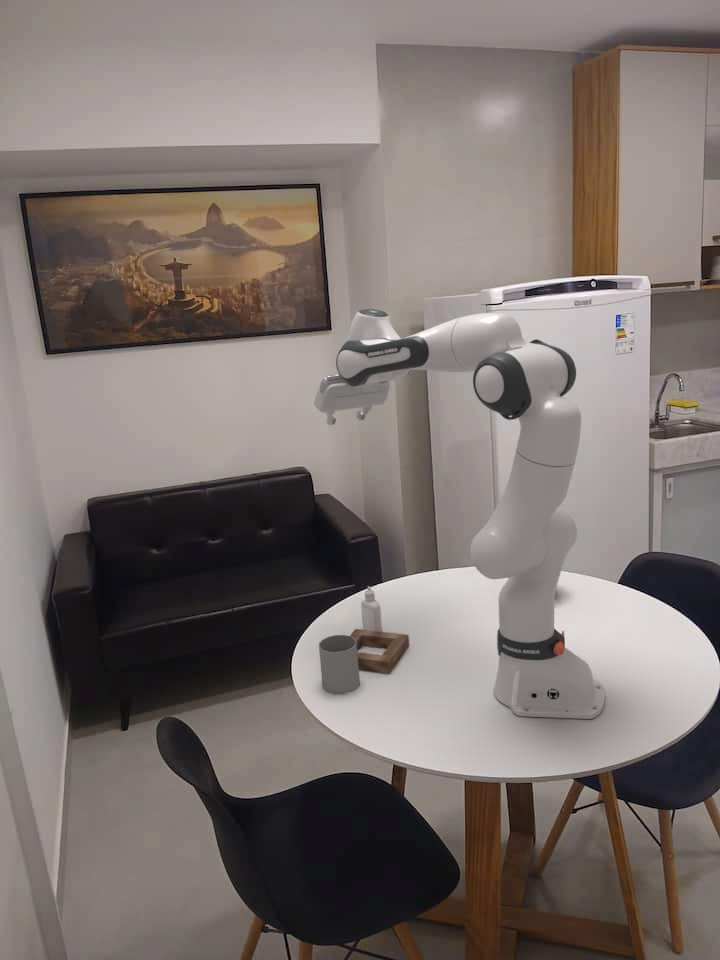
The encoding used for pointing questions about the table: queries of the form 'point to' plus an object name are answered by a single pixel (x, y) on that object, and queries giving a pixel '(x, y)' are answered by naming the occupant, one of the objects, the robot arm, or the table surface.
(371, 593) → the eye dropper bottle
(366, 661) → the socket block
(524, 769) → the table surface
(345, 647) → the cup
